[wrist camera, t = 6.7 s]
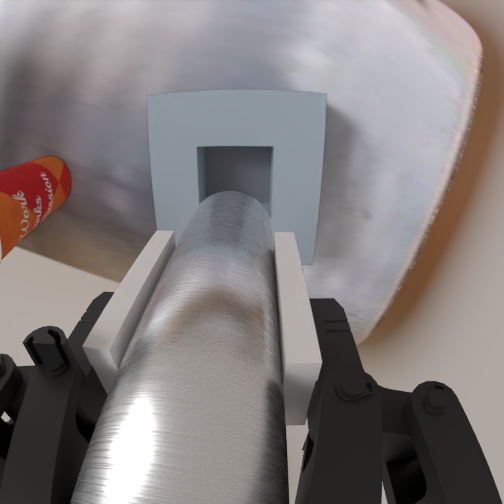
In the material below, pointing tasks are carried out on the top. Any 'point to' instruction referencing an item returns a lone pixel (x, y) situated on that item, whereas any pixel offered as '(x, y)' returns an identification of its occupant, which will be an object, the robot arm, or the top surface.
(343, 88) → the top surface
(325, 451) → the robot arm
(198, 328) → the pin
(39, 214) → the paper cup
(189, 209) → the socket block
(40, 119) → the top surface
